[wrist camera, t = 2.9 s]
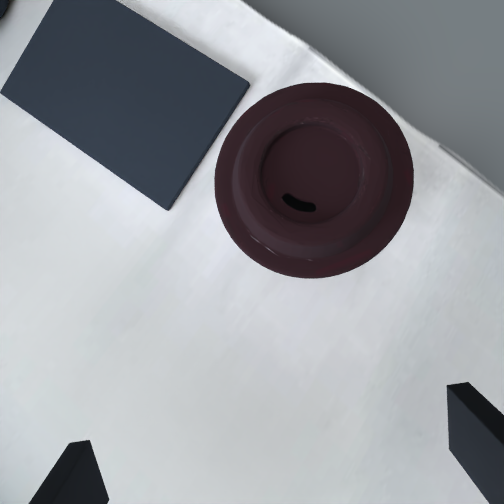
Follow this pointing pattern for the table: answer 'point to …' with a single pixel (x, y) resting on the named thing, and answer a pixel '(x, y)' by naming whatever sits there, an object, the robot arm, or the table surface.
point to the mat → (125, 93)
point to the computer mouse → (3, 6)
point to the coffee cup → (314, 180)
